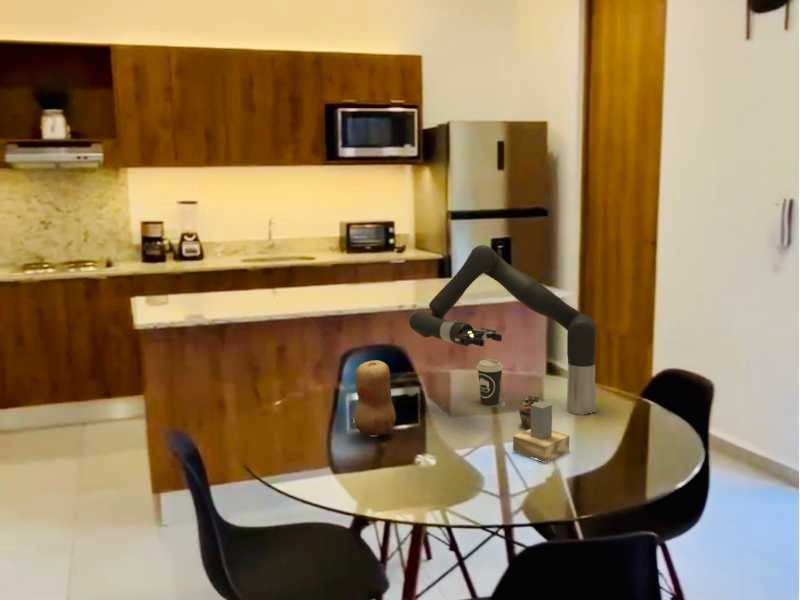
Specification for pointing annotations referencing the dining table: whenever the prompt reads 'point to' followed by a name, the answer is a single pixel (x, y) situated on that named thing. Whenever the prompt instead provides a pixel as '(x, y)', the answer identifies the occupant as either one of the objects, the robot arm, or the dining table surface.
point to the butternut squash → (374, 399)
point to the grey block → (541, 420)
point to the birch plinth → (541, 445)
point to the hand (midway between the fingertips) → (492, 340)
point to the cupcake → (527, 412)
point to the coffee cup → (489, 381)
